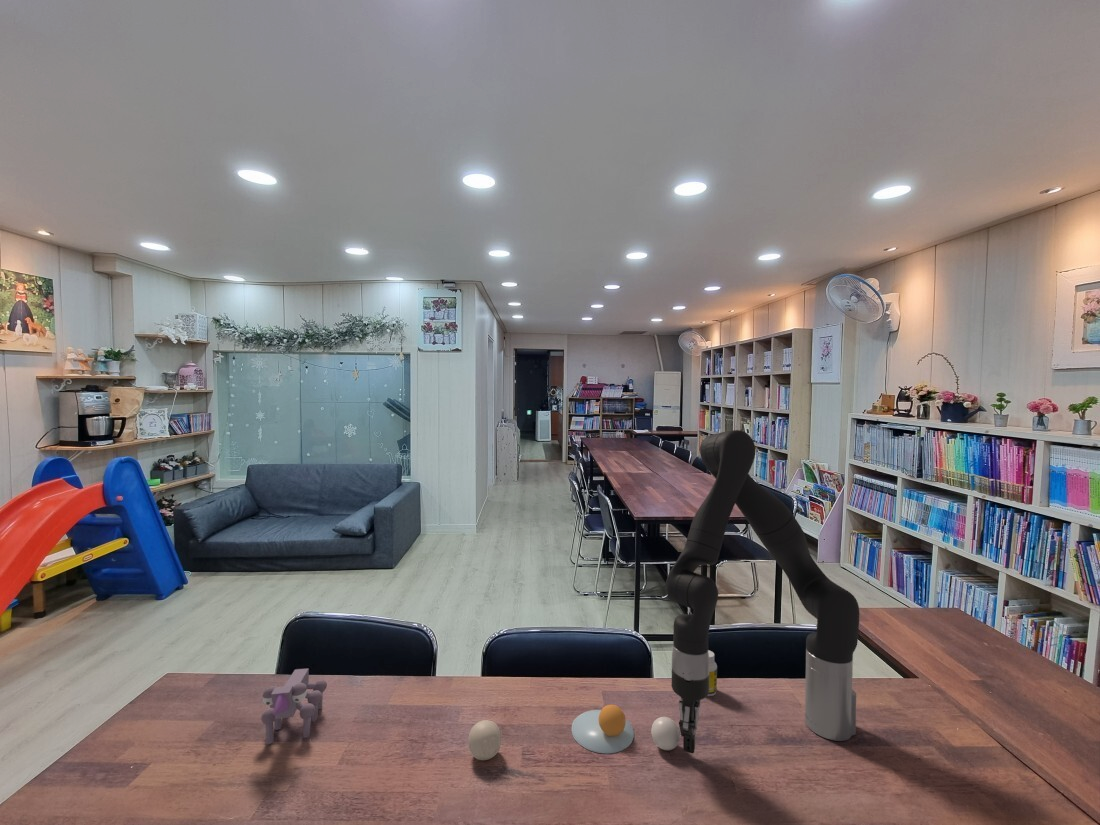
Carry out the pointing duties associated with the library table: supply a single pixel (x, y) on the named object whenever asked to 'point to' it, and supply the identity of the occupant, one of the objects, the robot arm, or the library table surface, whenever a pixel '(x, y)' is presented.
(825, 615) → the robot arm
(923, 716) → the library table surface
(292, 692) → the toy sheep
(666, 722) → the cue ball
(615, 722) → the object ball
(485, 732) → the beige egg
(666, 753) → the library table surface
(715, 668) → the supplement bottle
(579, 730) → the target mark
